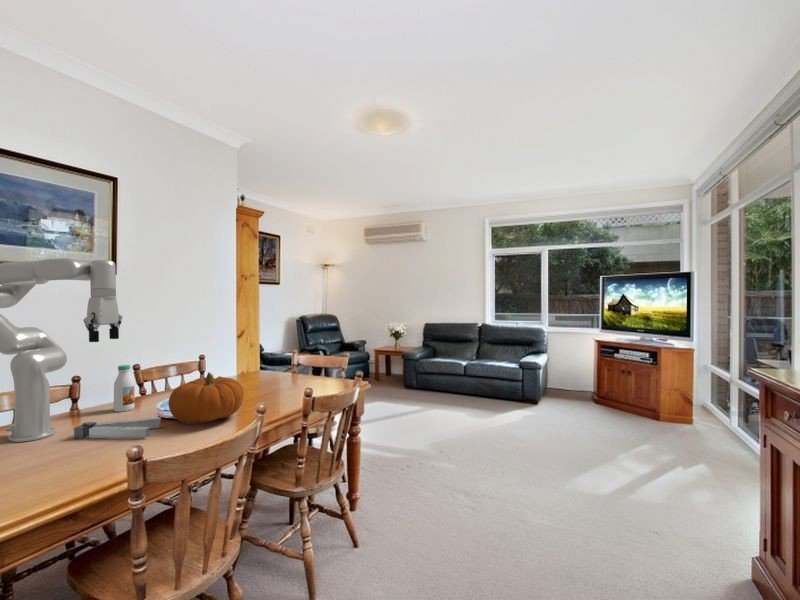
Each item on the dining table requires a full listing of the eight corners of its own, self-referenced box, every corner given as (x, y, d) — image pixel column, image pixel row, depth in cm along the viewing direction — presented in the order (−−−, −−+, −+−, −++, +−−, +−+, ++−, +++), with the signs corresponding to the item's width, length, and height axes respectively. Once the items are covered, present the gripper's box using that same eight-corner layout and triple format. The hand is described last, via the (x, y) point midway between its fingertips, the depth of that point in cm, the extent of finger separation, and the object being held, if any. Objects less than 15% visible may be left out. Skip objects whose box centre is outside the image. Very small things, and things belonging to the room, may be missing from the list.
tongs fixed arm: (74, 438, 144) (74, 426, 144) (88, 432, 150) (88, 420, 150) (144, 439, 144) (144, 426, 144) (155, 433, 150) (155, 421, 150)
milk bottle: (114, 413, 174) (114, 367, 174) (112, 409, 180) (112, 365, 180) (135, 410, 180) (135, 365, 179) (133, 406, 185) (133, 363, 185)
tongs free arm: (95, 434, 148) (95, 424, 147) (97, 432, 150) (97, 422, 150) (159, 427, 155) (159, 418, 155) (160, 425, 157) (160, 417, 157)
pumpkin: (237, 406, 186) (237, 364, 186) (250, 423, 163) (250, 374, 163) (167, 416, 171) (167, 369, 171) (170, 435, 148) (170, 382, 148)
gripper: (110, 294, 155) (111, 337, 156) (73, 294, 138) (74, 343, 138) (129, 293, 155) (130, 337, 155) (95, 293, 138) (96, 343, 138)
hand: (104, 340), depth 147 cm, fingers open, 9 cm apart
